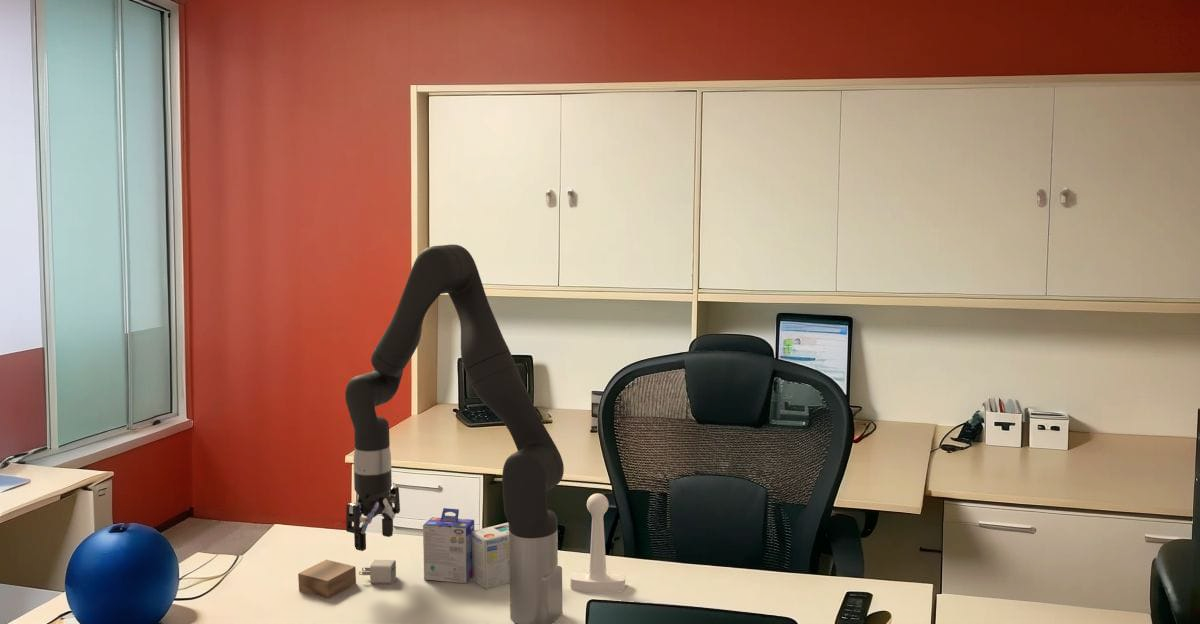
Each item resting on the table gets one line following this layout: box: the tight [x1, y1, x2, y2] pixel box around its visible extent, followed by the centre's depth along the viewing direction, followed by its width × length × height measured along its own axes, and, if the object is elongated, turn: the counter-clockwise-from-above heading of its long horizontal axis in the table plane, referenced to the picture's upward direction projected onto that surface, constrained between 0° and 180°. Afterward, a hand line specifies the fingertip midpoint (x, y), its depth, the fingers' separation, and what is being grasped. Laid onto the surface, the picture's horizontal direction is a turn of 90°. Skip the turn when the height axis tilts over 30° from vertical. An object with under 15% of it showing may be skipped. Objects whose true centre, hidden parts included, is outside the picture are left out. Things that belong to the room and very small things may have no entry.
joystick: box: [570, 492, 626, 594], centre depth 189 cm, size 11×8×20 cm
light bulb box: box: [471, 521, 510, 590], centre depth 193 cm, size 11×7×11 cm, turn 125°
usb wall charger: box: [358, 559, 397, 585], centre depth 192 cm, size 4×7×4 cm, turn 87°
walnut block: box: [297, 559, 357, 600], centre depth 189 cm, size 8×8×4 cm
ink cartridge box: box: [422, 507, 475, 584], centre depth 193 cm, size 10×6×14 cm, turn 78°
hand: (374, 542), depth 192 cm, fingers open, 8 cm apart
